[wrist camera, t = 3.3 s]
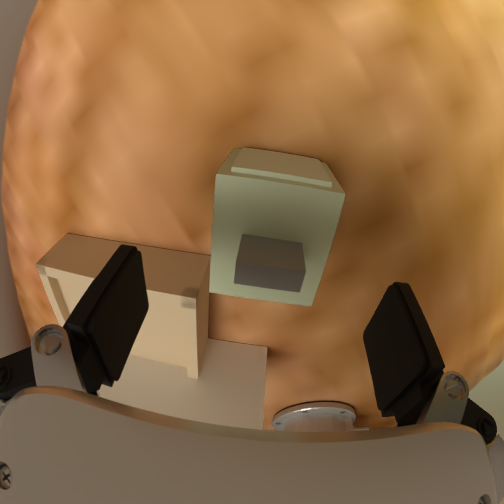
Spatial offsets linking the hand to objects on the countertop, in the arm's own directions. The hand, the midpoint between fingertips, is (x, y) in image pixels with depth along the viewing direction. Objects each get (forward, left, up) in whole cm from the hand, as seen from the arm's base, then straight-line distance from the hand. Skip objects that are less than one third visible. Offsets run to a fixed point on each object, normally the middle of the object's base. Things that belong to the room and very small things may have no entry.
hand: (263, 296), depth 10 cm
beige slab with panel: (+9, +12, -10) cm, 18 cm away
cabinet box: (0, +1, -10) cm, 10 cm away
